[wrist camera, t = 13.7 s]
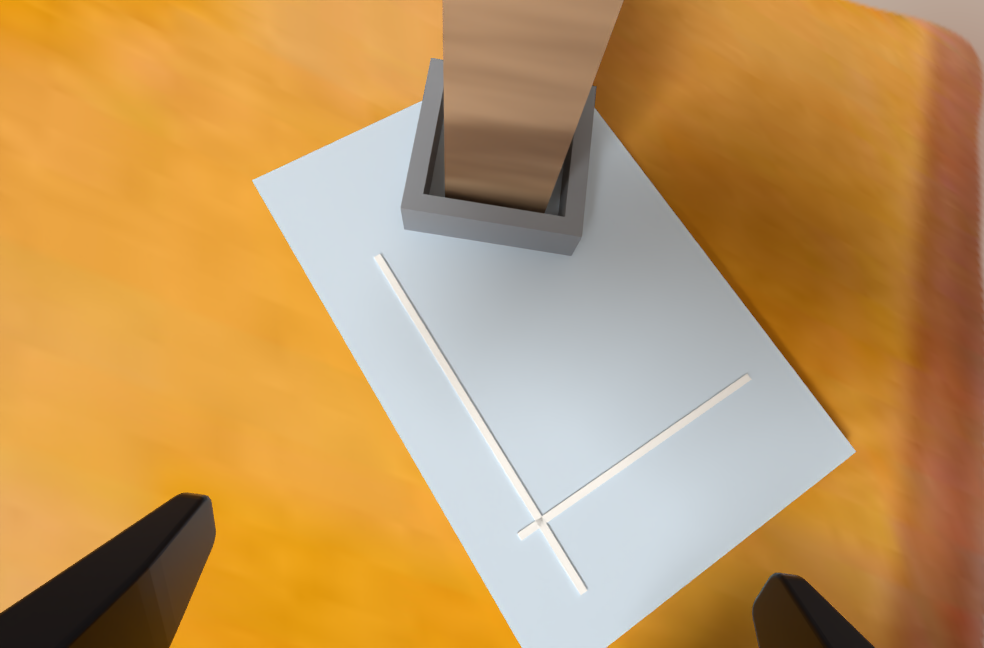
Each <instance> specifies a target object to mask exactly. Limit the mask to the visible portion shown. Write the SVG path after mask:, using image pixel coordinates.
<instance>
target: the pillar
mask: <svg viewBox="0 0 984 648" xmlns="http://www.w3.org/2000/svg"><path fill="white" fill-rule="evenodd" d="M623 1H624V0H443V79H444V166H445V198H451V199H457V200H464V201H470V202H476V203H482V204H488V205H495V206H501V207H507V208H513V209H519V210H526V211H532V212H538V213H545V211H546V208H547V205H548V203H549V200H550V197H551V194H552V192H553V189H554V186H555V184H556V181H557V178H558V176H559V173H560V170H561V168H562V165H563V162H564V160H565V157H566V154H567V151H568V149H569V146H570V143H571V141H572V138H573V135H574V133H575V130H576V127H577V125H578V122H579V119H580V117H581V114H582V111H583V108H584V106H585V103H586V100H587V98H588V95H589V92H590V90H591V87H592V84H593V82H594V79H595V76H596V73H597V71H598V68H599V65H600V63H601V60H602V57H603V55H604V52H605V49H606V47H607V44H608V41H609V39H610V36H611V33H612V30H613V28H614V25H615V22H616V20H617V17H618V14H619V12H620V9H621V6H622V4H623Z"/></svg>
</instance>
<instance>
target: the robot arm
mask: <svg viewBox="0 0 984 648" xmlns="http://www.w3.org/2000/svg"><path fill="white" fill-rule="evenodd" d="M215 535H216V528H215V521H214V515H213V508H212V502H211V499H210V498H209V497H208V496H206V495H201V494H194V493H181V494H178V495H176V496H175V497H173V498H172V499H170V500H169V501H167V502H166V503H164V504H163V505H161V506H160V507H158V508H157V509H155V510H154V511H152V512H151V513H149V514H148V515H146V516H145V517H143V518H142V519H140V520H139V521H137V522H136V523H134V524H133V525H131V526H130V527H128V528H127V529H125V530H124V531H123V532H121V533H120V534H118V535H117V536H115V537H114V538H112V539H111V540H109V541H108V542H106V543H105V544H103V545H102V546H100V547H99V548H97V549H96V550H94V551H93V552H91V553H90V554H88V555H87V556H85V557H84V558H82V559H81V560H79V561H78V562H76V563H75V564H73V565H72V566H70V567H69V568H67V569H66V570H64V571H63V572H61V573H60V574H58V575H57V576H55V577H54V578H52V579H51V580H49V581H48V582H46V583H45V584H43V585H42V586H40V587H39V588H37V589H36V590H34V591H33V592H31V593H30V594H28V595H27V596H26V597H24V598H23V599H21V600H20V601H18V602H17V603H15V604H14V605H12V606H11V607H9V608H8V609H6V610H5V611H3V612H2V613H0V648H169V647H170V645H171V643H172V640H173V638H174V636H175V634H176V632H177V629H178V627H179V625H180V622H181V620H182V618H183V615H184V613H185V610H186V608H187V606H188V603H189V601H190V599H191V596H192V594H193V592H194V589H195V587H196V585H197V582H198V580H199V578H200V575H201V573H202V571H203V568H204V566H205V563H206V561H207V559H208V556H209V554H210V552H211V549H212V547H213V544H214V541H215ZM752 615H753V622H754V626H755V631H756V636H757V640H758V645H759V648H875V647H874V646H873V645H872V644H871V643H870V642H869V641H868V640H866V639H865V638H864V637H863V636H862V635H861V634H860V633H859V632H858V631H857V630H856V629H855V628H854V627H853V626H852V625H851V624H850V623H849V622H848V621H847V620H846V619H845V618H844V617H843V616H842V615H841V614H840V613H839V612H838V611H837V610H836V609H835V608H834V607H833V606H832V605H831V604H830V603H829V602H827V601H826V600H825V599H824V598H823V597H822V596H821V595H820V594H819V593H818V592H817V591H816V590H815V589H814V588H813V587H812V586H811V585H810V584H809V583H808V582H807V581H806V580H805V579H803V578H802V577H800V576H797V575H791V574H784V573H774V574H772V575H771V576H770V577H769V579H768V580H767V582H766V584H765V585H764V587H763V588H762V590H761V591H760V593H759V595H758V596H757V598H756V599H755V601H754V604H753V609H752Z"/></svg>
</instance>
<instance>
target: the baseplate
mask: <svg viewBox="0 0 984 648" xmlns="http://www.w3.org/2000/svg"><path fill="white" fill-rule="evenodd" d="M595 96H596V86H592V87H591V90H590V92H589V95H588V98H587V100H586V103H585V106H584V108H583V111H582V114H581V117H580V119H579V122H578V125H577V127H576V130H575V133H574V135H573V138H572V141H571V143H570V146H569V149H568V151H567V154H566V157H565V160H564V162H563V165H562V168H561V170H560V173H559V176H558V178H557V181H556V184H555V186H554V189H553V192H552V194H551V197H550V200H549V203H548V205H547V208H546V211H545V213H538V212H532V211H526V210H519V209H513V208H507V207H501V206H495V205H488V204H482V203H476V202H470V201H464V200H457V199H451V198H445V166H444V79H443V60H440V59H434V58H431V61H430V66H429V71H428V76H427V81H426V85H425V90H424V95H423V100H422V101H421V102H419V103H416V104H414V105H412V106H410V107H408V108H406V109H404V110H401V111H399V112H397V113H395V114H393V115H391V116H389V117H386V118H384V119H382V120H380V121H378V122H376V123H374V124H372V125H369V126H367V127H365V128H363V129H361V130H359V131H357V132H354V133H352V134H350V135H348V136H346V137H344V138H342V139H339V140H337V141H335V142H333V143H331V144H329V145H327V146H325V147H322V148H320V149H318V150H316V151H314V152H312V153H310V154H307V155H305V156H303V157H301V158H299V159H297V160H295V161H292V162H290V163H288V164H286V165H284V166H282V167H280V168H278V169H275V170H273V171H271V172H269V173H267V174H265V175H263V176H260V177H258V178H256V179H254V180H252V181H253V183H254V185H255V186H256V188H257V190H258V192H259V193H260V195H261V197H262V199H263V200H264V202H265V204H266V205H267V207H268V209H269V211H270V212H271V214H272V216H273V218H274V219H275V221H276V223H277V225H278V226H279V228H280V230H281V231H282V233H283V235H284V237H285V238H286V240H287V242H288V244H289V245H290V247H291V249H292V250H293V252H294V254H295V256H296V257H297V259H298V261H299V263H300V264H301V266H302V268H303V270H304V271H305V273H306V275H307V276H308V278H309V280H310V282H311V283H312V285H313V287H314V289H315V290H316V292H317V294H318V296H319V297H320V299H321V301H322V302H323V304H324V306H325V308H326V309H327V311H328V313H329V315H330V316H331V318H332V320H333V321H334V323H335V325H336V327H337V328H338V330H339V332H340V334H341V335H342V337H343V339H344V341H345V342H346V344H347V346H348V347H349V349H350V351H351V353H352V354H353V356H354V358H355V360H356V361H357V363H358V365H359V367H360V368H361V370H362V372H363V373H364V375H365V377H366V379H367V380H368V382H369V384H370V386H371V387H372V389H373V391H374V392H375V394H376V396H377V398H378V399H379V401H380V403H381V405H382V406H383V408H384V410H385V412H386V413H387V415H388V417H389V418H390V420H391V422H392V424H393V425H394V427H395V429H396V431H397V432H398V434H399V436H400V438H401V439H402V441H403V443H404V444H405V446H406V448H407V450H408V451H409V453H410V455H411V457H412V458H413V460H414V462H415V463H416V465H417V467H418V469H419V470H420V472H421V474H422V476H423V477H424V479H425V481H426V483H427V484H428V486H429V488H430V489H431V491H432V493H433V495H434V496H435V498H436V500H437V502H438V503H439V505H440V507H441V509H442V510H443V512H444V514H445V515H446V517H447V519H448V521H449V522H450V524H451V526H452V528H453V529H454V531H455V533H456V534H457V536H458V538H459V540H460V541H461V543H462V545H463V547H464V548H465V550H466V552H467V554H468V555H469V557H470V559H471V560H472V562H473V564H474V566H475V567H476V569H477V571H478V573H479V574H480V576H481V578H482V580H483V581H484V583H485V585H486V586H487V588H488V590H489V592H490V593H491V595H492V597H493V599H494V600H495V602H496V604H497V605H498V607H499V609H500V611H501V612H502V614H503V616H504V618H505V619H506V621H507V623H508V625H509V626H510V628H511V630H512V631H513V633H514V635H515V637H516V638H517V640H518V642H519V644H520V645H521V647H522V648H606V647H607V646H609V645H610V644H611V643H613V642H614V641H615V640H616V639H618V638H619V637H620V636H621V635H623V634H624V633H625V632H627V631H628V630H629V629H630V628H632V627H633V626H634V625H636V624H637V623H638V622H639V621H641V620H642V619H643V618H644V617H646V616H647V615H648V614H650V613H651V612H652V611H653V610H655V609H656V608H657V607H659V606H660V605H661V604H662V603H664V602H665V601H666V600H667V599H669V598H670V597H671V596H673V595H674V594H675V593H676V592H678V591H679V590H680V589H682V588H683V587H684V586H685V585H687V584H688V583H689V582H690V581H692V580H693V579H694V578H696V577H697V576H698V575H699V574H701V573H702V572H703V571H705V570H706V569H707V568H708V567H710V566H711V565H712V564H713V563H715V562H716V561H717V560H719V559H720V558H721V557H722V556H724V555H725V554H726V553H728V552H729V551H730V550H731V549H733V548H734V547H735V546H736V545H738V544H739V543H740V542H742V541H743V540H744V539H745V538H747V537H748V536H749V535H751V534H752V533H753V532H754V531H756V530H757V529H758V528H759V527H761V526H762V525H763V524H765V523H766V522H767V521H768V520H770V519H771V518H772V517H774V516H775V515H776V514H777V513H779V512H780V511H781V510H782V509H784V508H785V507H786V506H788V505H789V504H790V503H791V502H793V501H794V500H795V499H796V498H798V497H799V496H800V495H802V494H803V493H804V492H805V491H807V490H808V489H809V488H811V487H812V486H813V485H814V484H816V483H817V482H818V481H819V480H821V479H822V478H823V477H825V476H826V475H827V474H828V473H830V472H831V471H832V470H834V469H835V468H836V467H837V466H839V465H840V464H841V463H842V462H844V461H845V460H846V459H848V458H849V457H850V456H851V455H853V454H854V453H855V452H856V451H855V450H854V448H853V447H852V446H851V444H850V443H849V442H848V440H847V439H846V438H845V436H844V435H843V434H842V432H841V431H840V430H839V429H838V427H837V426H836V425H835V423H834V422H833V421H832V419H831V418H830V417H829V415H828V414H827V413H826V411H825V410H824V409H823V407H822V406H821V405H820V404H819V402H818V401H817V400H816V398H815V397H814V396H813V394H812V393H811V392H810V390H809V389H808V388H807V386H806V385H805V384H804V382H803V381H802V380H801V379H800V377H799V376H798V375H797V373H796V372H795V371H794V369H793V368H792V367H791V365H790V364H789V363H788V361H787V360H786V359H785V357H784V356H783V355H782V354H781V352H780V351H779V350H778V348H777V347H776V346H775V344H774V343H773V342H772V340H771V339H770V338H769V336H768V335H767V334H766V332H765V331H764V330H763V329H762V327H761V326H760V325H759V323H758V322H757V321H756V319H755V318H754V317H753V315H752V314H751V313H750V311H749V310H748V309H747V307H746V306H745V305H744V304H743V302H742V301H741V300H740V298H739V297H738V296H737V294H736V293H735V292H734V290H733V289H732V288H731V286H730V285H729V284H728V282H727V281H726V280H725V279H724V277H723V276H722V275H721V273H720V272H719V271H718V269H717V268H716V267H715V265H714V264H713V263H712V261H711V260H710V259H709V257H708V256H707V255H706V254H705V252H704V251H703V250H702V248H701V247H700V246H699V244H698V243H697V242H696V240H695V239H694V238H693V236H692V235H691V234H690V233H689V231H688V230H687V229H686V227H685V226H684V225H683V223H682V222H681V221H680V219H679V218H678V217H677V215H676V214H675V213H674V211H673V210H672V209H671V208H670V206H669V205H668V204H667V202H666V201H665V200H664V198H663V197H662V196H661V194H660V193H659V192H658V190H657V189H656V188H655V186H654V185H653V184H652V183H651V181H650V180H649V179H648V177H647V176H646V175H645V173H644V172H643V171H642V169H641V168H640V167H639V165H638V164H637V163H636V161H635V160H634V159H633V158H632V156H631V155H630V154H629V152H628V151H627V150H626V148H625V147H624V146H623V144H622V143H621V142H620V140H619V139H618V138H617V136H616V135H615V134H614V133H613V131H612V130H611V129H610V127H609V126H608V125H607V123H606V122H605V121H604V119H603V118H602V117H601V115H600V114H599V113H598V111H597V110H596V109H595V108H594V106H595Z"/></svg>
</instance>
